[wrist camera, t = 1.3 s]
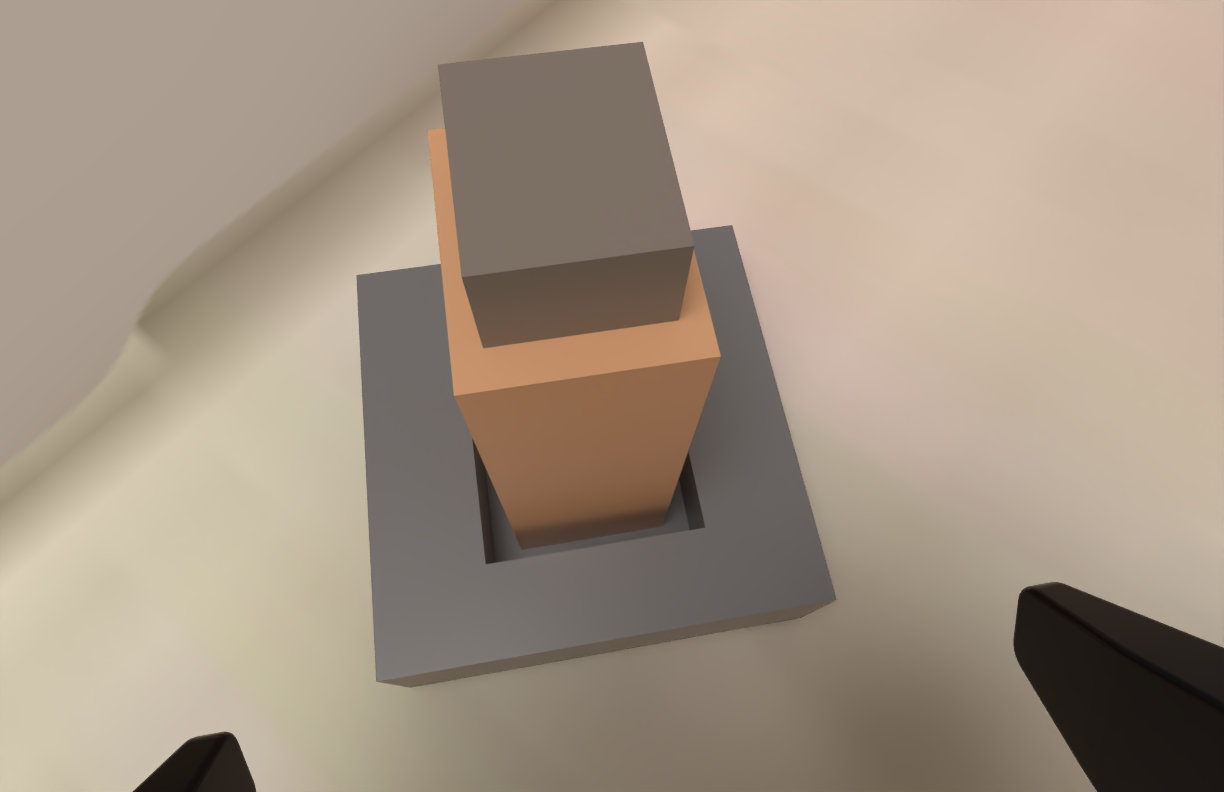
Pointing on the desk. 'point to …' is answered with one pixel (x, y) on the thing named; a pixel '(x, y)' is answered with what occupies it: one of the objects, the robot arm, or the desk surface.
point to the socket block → (585, 569)
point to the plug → (569, 288)
